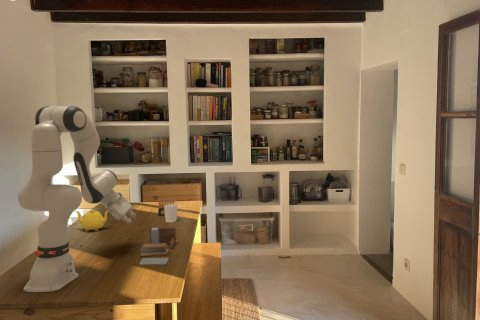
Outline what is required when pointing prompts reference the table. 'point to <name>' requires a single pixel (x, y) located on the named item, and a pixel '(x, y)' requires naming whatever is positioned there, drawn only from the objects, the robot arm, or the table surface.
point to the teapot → (92, 220)
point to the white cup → (170, 212)
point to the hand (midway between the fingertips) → (132, 219)
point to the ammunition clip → (161, 208)
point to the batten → (155, 235)
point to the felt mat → (153, 261)
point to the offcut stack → (154, 249)
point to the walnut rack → (166, 236)
